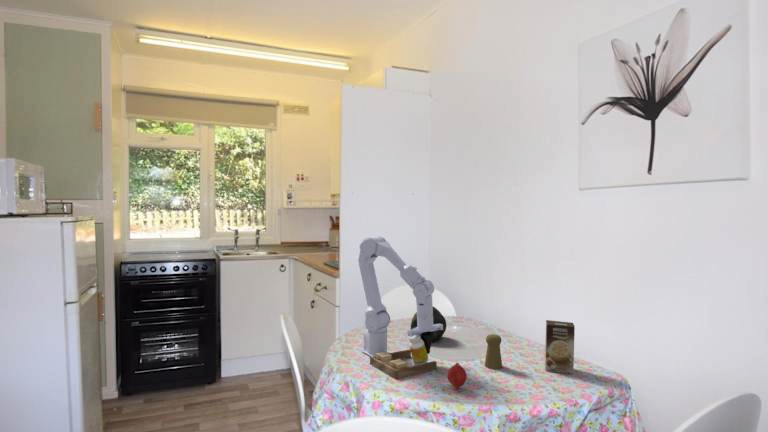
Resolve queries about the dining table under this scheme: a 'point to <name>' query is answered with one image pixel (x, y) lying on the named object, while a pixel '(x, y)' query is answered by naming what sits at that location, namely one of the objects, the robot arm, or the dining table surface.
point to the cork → (493, 352)
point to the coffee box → (559, 347)
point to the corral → (402, 371)
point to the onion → (457, 376)
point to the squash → (437, 319)
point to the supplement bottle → (418, 350)
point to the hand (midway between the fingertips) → (426, 353)
